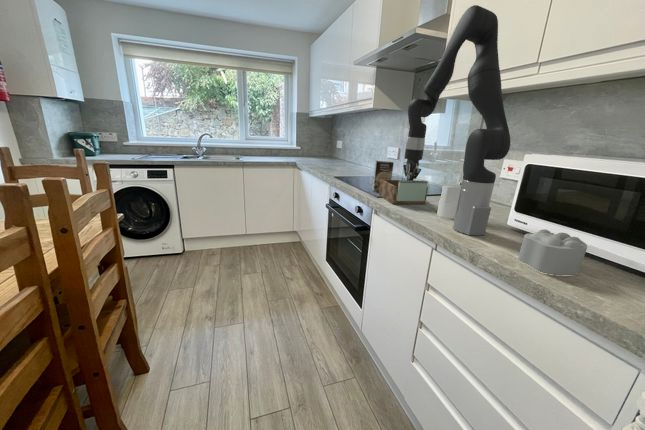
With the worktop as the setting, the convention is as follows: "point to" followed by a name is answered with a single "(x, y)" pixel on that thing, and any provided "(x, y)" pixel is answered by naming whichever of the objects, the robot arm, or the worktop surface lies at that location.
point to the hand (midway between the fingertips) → (408, 187)
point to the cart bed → (394, 192)
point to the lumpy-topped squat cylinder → (553, 252)
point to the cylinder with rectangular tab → (448, 202)
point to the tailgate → (411, 190)
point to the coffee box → (382, 173)
